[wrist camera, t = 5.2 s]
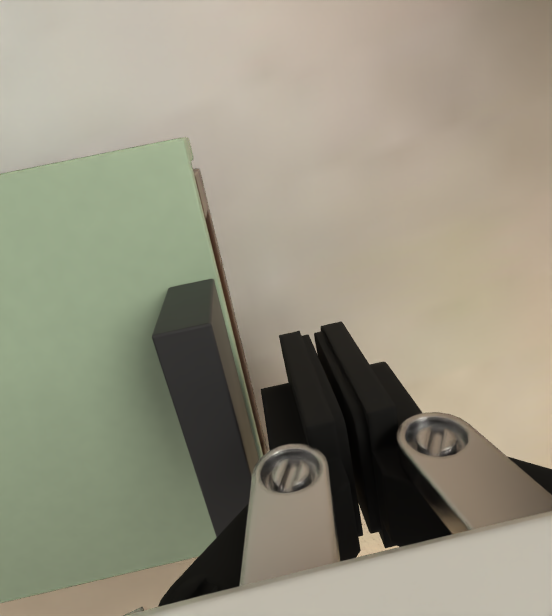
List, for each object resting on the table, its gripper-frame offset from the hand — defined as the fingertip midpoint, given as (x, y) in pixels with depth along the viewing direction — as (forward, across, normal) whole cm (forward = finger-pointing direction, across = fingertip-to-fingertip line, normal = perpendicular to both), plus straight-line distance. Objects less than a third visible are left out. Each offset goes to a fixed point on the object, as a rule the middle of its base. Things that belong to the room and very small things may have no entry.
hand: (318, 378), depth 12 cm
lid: (+3, +10, 0) cm, 10 cm away
